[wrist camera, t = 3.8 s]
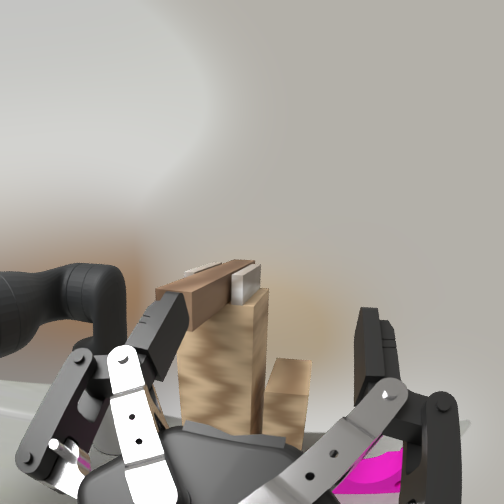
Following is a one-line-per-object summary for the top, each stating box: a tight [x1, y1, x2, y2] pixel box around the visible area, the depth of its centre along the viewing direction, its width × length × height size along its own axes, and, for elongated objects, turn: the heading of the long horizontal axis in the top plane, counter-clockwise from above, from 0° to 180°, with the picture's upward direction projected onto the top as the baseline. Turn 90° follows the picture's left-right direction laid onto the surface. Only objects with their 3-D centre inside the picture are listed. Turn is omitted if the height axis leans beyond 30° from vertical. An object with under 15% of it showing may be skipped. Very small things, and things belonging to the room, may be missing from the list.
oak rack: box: [177, 262, 312, 450], centre depth 39 cm, size 16×10×34 cm, turn 78°
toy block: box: [332, 447, 403, 494], centre depth 38 cm, size 15×6×8 cm, turn 77°
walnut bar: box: [155, 260, 255, 332], centre depth 36 cm, size 3×24×3 cm, turn 168°
